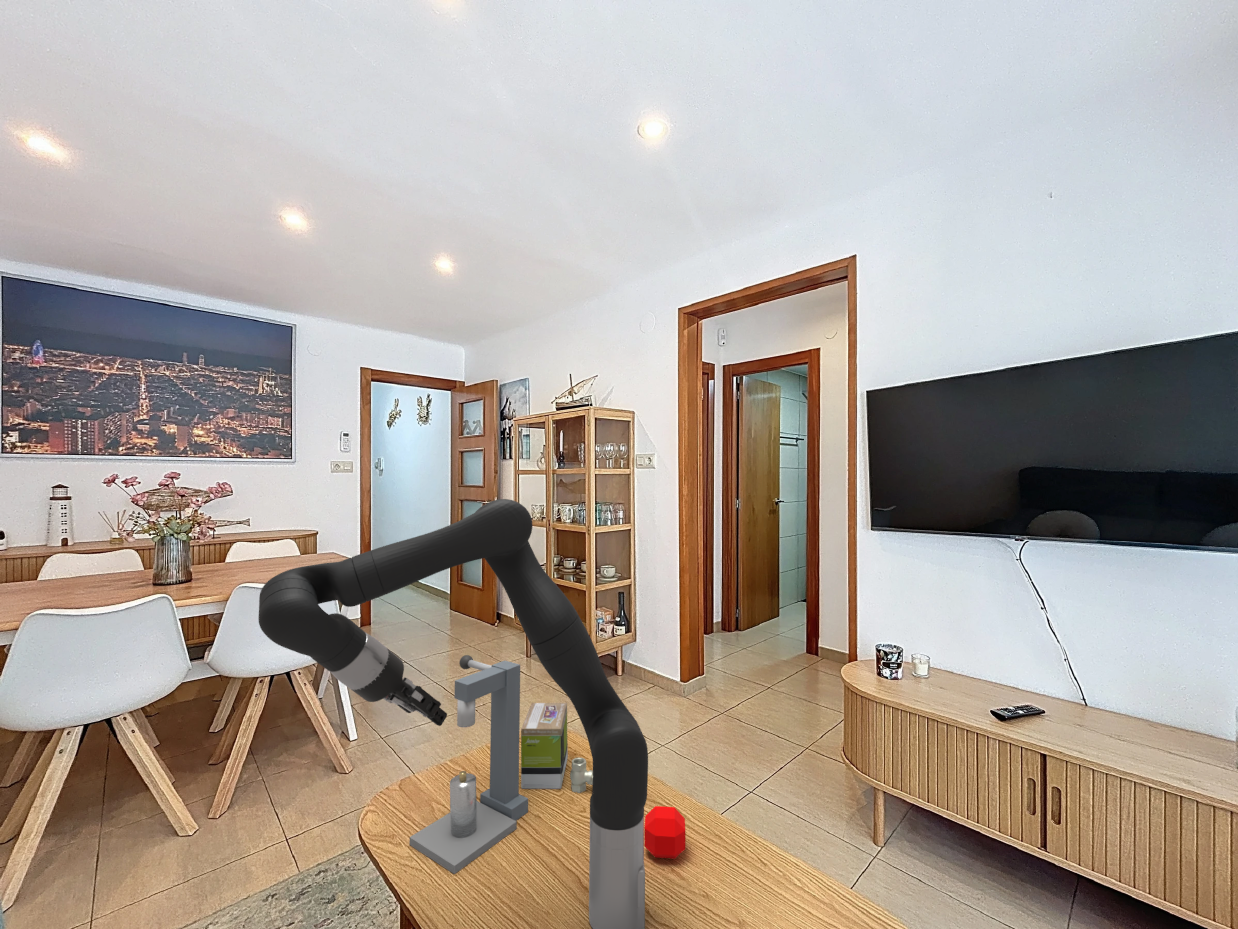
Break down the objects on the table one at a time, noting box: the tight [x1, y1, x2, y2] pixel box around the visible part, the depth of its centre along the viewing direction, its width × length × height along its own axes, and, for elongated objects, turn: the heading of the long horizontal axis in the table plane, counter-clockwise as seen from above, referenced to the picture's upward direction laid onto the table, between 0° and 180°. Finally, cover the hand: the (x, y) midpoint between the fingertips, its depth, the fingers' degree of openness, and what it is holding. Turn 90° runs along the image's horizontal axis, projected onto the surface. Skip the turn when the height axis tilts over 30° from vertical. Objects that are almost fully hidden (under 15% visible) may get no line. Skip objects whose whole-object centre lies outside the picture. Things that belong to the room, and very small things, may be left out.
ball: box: [644, 805, 687, 860], centre depth 106 cm, size 8×8×8 cm
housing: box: [449, 770, 477, 838], centre depth 110 cm, size 5×5×12 cm
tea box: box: [520, 702, 569, 790], centre depth 134 cm, size 15×10×15 cm
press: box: [409, 654, 529, 875], centre depth 115 cm, size 22×22×32 cm
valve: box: [569, 757, 593, 794], centre depth 126 cm, size 7×7×12 cm
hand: (427, 713), depth 93 cm, fingers open, 8 cm apart
